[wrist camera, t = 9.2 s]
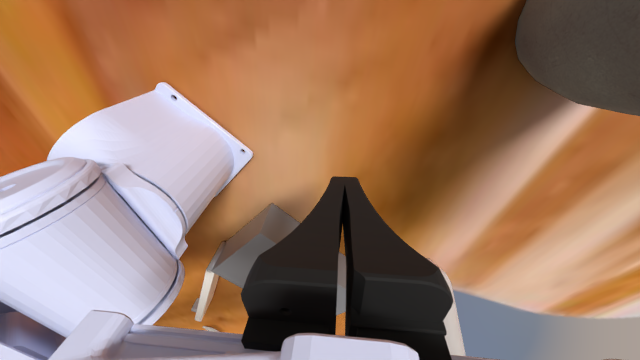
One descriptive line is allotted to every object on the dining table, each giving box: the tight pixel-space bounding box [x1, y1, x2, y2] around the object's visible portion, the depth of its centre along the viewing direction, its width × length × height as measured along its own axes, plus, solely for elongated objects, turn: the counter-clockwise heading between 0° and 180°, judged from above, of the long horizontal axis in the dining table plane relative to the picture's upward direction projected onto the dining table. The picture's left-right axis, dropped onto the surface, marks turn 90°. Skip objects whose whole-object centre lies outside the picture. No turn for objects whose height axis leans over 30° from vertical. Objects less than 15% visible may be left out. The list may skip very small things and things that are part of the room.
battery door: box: [191, 241, 226, 322], centre depth 33 cm, size 16×2×4 cm, turn 157°
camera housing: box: [211, 203, 346, 315], centre depth 29 cm, size 16×10×5 cm, turn 46°
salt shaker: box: [426, 258, 466, 356], centre depth 25 cm, size 6×6×13 cm
